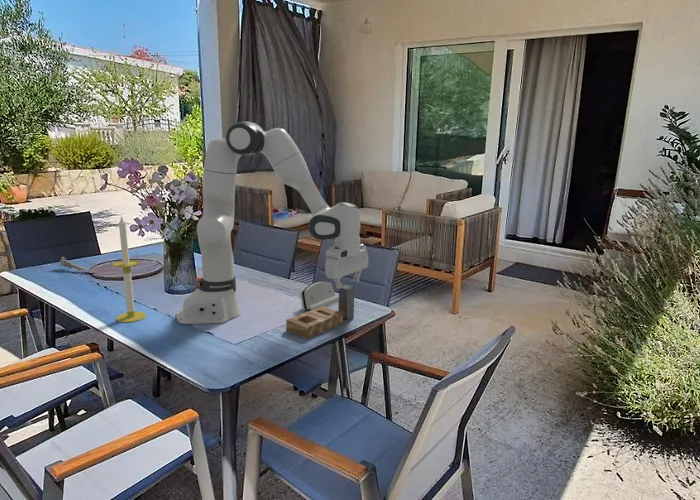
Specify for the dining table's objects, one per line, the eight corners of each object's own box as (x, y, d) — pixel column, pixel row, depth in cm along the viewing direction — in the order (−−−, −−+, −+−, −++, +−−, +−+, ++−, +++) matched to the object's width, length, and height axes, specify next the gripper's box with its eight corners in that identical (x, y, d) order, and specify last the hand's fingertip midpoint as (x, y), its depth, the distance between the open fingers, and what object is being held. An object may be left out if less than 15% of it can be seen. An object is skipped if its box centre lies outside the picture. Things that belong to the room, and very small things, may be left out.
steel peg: (346, 321, 176) (347, 289, 173) (338, 318, 179) (338, 287, 176) (353, 317, 179) (354, 287, 176) (345, 315, 182) (346, 284, 179)
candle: (131, 324, 169) (121, 218, 160) (109, 320, 173) (98, 216, 164) (152, 314, 179) (143, 214, 169) (130, 310, 182) (121, 211, 173)
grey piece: (311, 312, 183) (305, 287, 183) (303, 313, 186) (296, 288, 186) (339, 301, 196) (333, 277, 196) (331, 302, 199) (325, 279, 199)
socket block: (307, 338, 161) (307, 327, 160) (286, 330, 167) (286, 319, 166) (342, 323, 174) (342, 312, 173) (322, 316, 180) (322, 306, 179)
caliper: (60, 269, 231) (59, 256, 230) (62, 269, 232) (61, 256, 231) (92, 275, 224) (91, 262, 223) (94, 274, 225) (93, 261, 224)
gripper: (359, 241, 182) (359, 276, 186) (322, 252, 167) (322, 290, 170) (372, 244, 178) (372, 280, 182) (335, 255, 163) (335, 294, 167)
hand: (347, 285), depth 176 cm, fingers open, 8 cm apart
